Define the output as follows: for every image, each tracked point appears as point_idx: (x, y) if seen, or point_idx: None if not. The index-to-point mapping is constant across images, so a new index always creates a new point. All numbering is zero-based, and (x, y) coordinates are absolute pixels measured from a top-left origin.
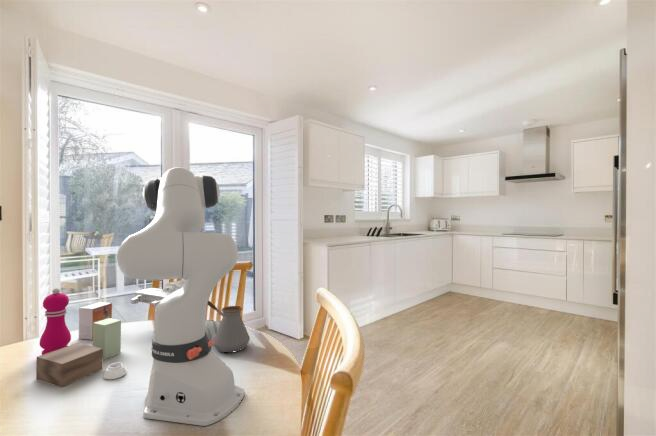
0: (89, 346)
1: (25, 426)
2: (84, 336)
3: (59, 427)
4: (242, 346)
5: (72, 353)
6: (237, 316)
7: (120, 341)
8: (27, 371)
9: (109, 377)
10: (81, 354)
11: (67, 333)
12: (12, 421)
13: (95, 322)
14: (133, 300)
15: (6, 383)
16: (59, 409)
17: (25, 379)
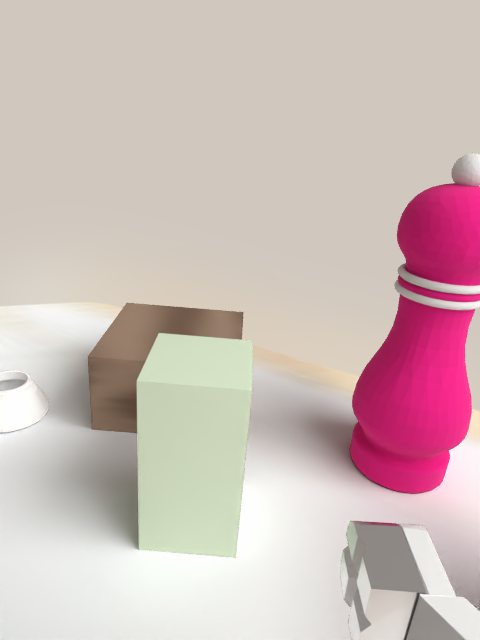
0: None
1: (74, 306)
2: None
3: (8, 308)
4: None
5: (163, 329)
6: None
7: (138, 497)
8: (315, 387)
9: (11, 388)
10: (125, 328)
11: (377, 389)
12: (111, 309)
13: (246, 343)
14: (353, 526)
15: (283, 355)
16: (53, 327)
17: (264, 367)
